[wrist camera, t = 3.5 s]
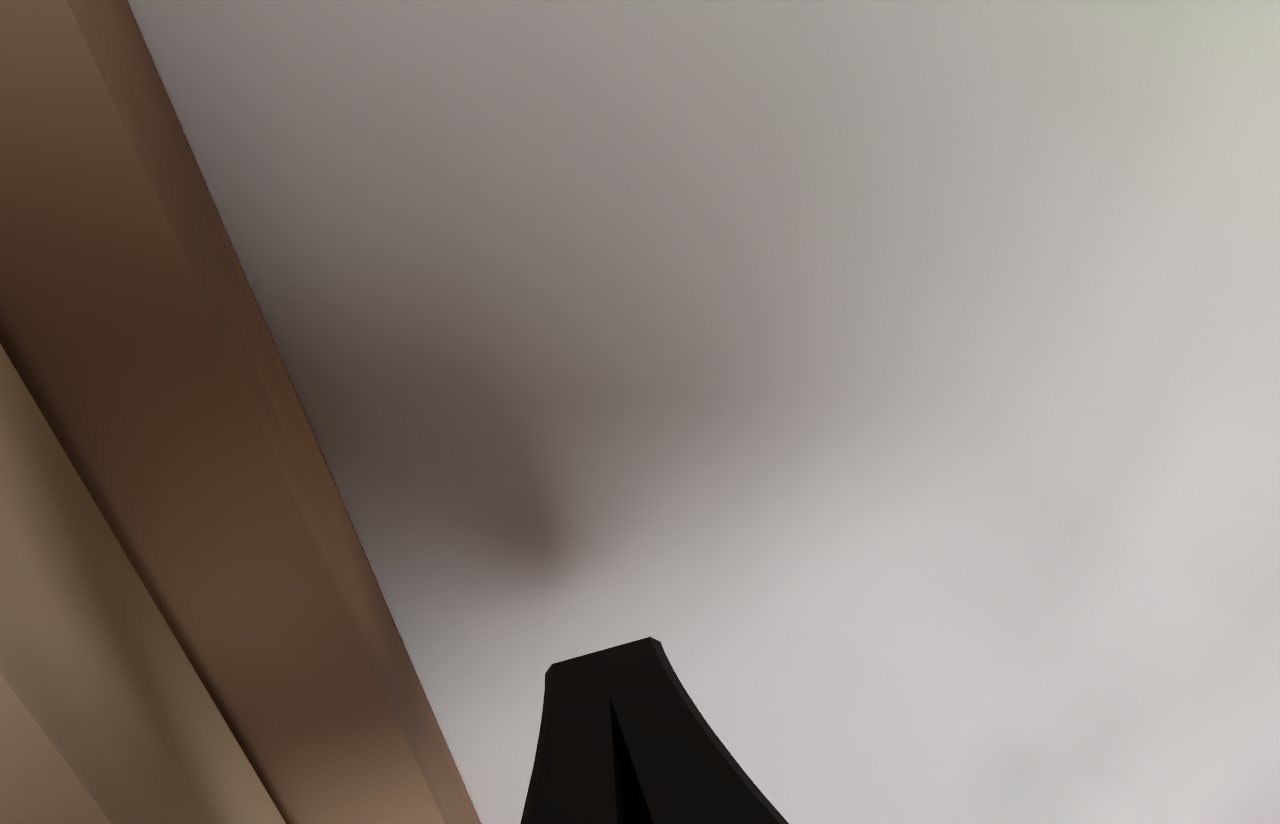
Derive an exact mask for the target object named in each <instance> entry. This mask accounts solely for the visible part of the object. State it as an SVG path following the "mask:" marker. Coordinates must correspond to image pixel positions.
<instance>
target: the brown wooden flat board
mask: <svg viewBox="0 0 1280 824" xmlns="http://www.w3.org/2000/svg"><path fill="white" fill-rule="evenodd" d="M0 344H1V346H2V347H3V349H4V351H5V352H6V354H7V356H8V357H9V359H10V361H11V362H12V364H13V366H14V367H15V369H16V371H17V372H18V374H19V376H20V378H21V379H22V381H23V383H24V384H25V386H26V388H27V389H28V391H29V393H30V394H31V396H32V398H33V399H34V401H35V403H36V404H37V406H38V408H39V409H40V411H41V413H42V414H43V416H44V418H45V420H46V421H47V423H48V425H49V426H50V428H51V430H52V431H53V433H54V435H55V436H56V438H57V440H58V441H59V443H60V445H61V446H62V448H63V450H64V451H65V453H66V455H67V457H68V458H69V460H70V462H71V463H72V465H73V467H74V468H75V470H76V472H77V473H78V475H79V477H80V478H81V480H82V482H83V483H84V485H85V487H86V488H87V490H88V492H89V493H90V495H91V497H92V499H93V500H94V502H95V504H96V505H97V507H98V509H99V510H100V512H101V514H102V515H103V517H104V519H105V520H106V522H107V524H108V525H109V527H110V529H111V530H112V532H113V534H114V536H115V537H116V539H117V541H118V542H119V544H120V546H121V547H122V549H123V551H124V552H125V554H126V556H127V557H128V559H129V561H130V562H131V564H132V566H133V567H134V569H135V571H136V572H137V574H138V576H139V578H140V579H141V581H142V583H143V584H144V586H145V588H146V589H147V591H148V593H149V594H150V596H151V598H152V599H153V601H154V603H155V604H156V606H157V608H158V609H159V611H160V613H161V614H162V616H163V618H164V620H165V621H166V623H167V625H168V626H169V628H170V630H171V631H172V633H173V635H174V636H175V638H176V640H177V641H178V643H179V645H180V646H181V648H182V650H183V651H184V653H185V655H186V657H187V658H188V660H189V662H190V663H191V665H192V667H193V668H194V670H195V672H196V673H197V675H198V677H199V678H200V680H201V682H202V683H203V685H204V687H205V688H206V690H207V692H208V693H209V695H210V697H211V699H212V700H213V702H214V704H215V705H216V707H217V709H218V710H219V712H220V714H221V715H222V717H223V719H224V720H225V722H226V724H227V725H228V727H229V729H230V730H231V732H232V734H233V736H234V737H235V739H236V741H237V742H238V744H239V746H240V747H241V749H242V751H243V752H244V754H245V756H246V757H247V759H248V761H249V762H250V764H251V766H252V767H253V769H254V771H255V772H256V774H257V776H258V778H259V779H260V781H261V783H262V784H263V786H264V788H265V789H266V791H267V793H268V794H269V796H270V798H271V799H272V801H273V803H274V804H275V806H276V808H277V809H278V811H279V813H280V815H281V816H282V818H283V820H284V821H285V823H286V824H481V823H480V821H479V819H478V816H477V814H476V812H475V809H474V807H473V805H472V802H471V800H470V798H469V795H468V793H467V791H466V789H465V786H464V784H463V782H462V779H461V777H460V775H459V772H458V770H457V768H456V765H455V763H454V761H453V758H452V756H451V754H450V751H449V749H448V747H447V744H446V742H445V740H444V737H443V735H442V733H441V730H440V728H439V726H438V723H437V721H436V719H435V716H434V714H433V712H432V709H431V707H430V705H429V702H428V700H427V698H426V695H425V693H424V691H423V688H422V686H421V684H420V681H419V679H418V677H417V674H416V672H415V670H414V668H413V665H412V663H411V661H410V658H409V656H408V654H407V651H406V649H405V647H404V644H403V642H402V640H401V637H400V635H399V633H398V630H397V628H396V626H395V623H394V621H393V619H392V616H391V614H390V612H389V609H388V607H387V605H386V602H385V600H384V598H383V595H382V593H381V591H380V588H379V586H378V584H377V581H376V579H375V577H374V574H373V572H372V570H371V567H370V565H369V563H368V560H367V558H366V556H365V554H364V551H363V549H362V547H361V544H360V542H359V540H358V537H357V535H356V533H355V530H354V528H353V526H352V523H351V521H350V519H349V516H348V514H347V512H346V509H345V507H344V505H343V502H342V500H341V498H340V495H339V493H338V491H337V488H336V486H335V484H334V481H333V479H332V477H331V474H330V472H329V470H328V467H327V465H326V463H325V460H324V458H323V456H322V453H321V451H320V449H319V446H318V444H317V442H316V439H315V437H314V435H313V433H312V430H311V428H310V426H309V423H308V421H307V419H306V416H305V414H304V412H303V409H302V407H301V405H300V402H299V400H298V398H297V395H296V393H295V391H294V388H293V386H292V384H291V381H290V379H289V377H288V374H287V372H286V370H285V367H284V365H283V363H282V360H281V358H280V356H279V353H278V351H277V349H276V346H275V344H274V342H273V339H272V337H271V335H270V332H269V330H268V328H267V325H266V323H265V321H264V319H263V316H262V314H261V312H260V309H259V307H258V305H257V302H256V300H255V298H254V295H253V293H252V291H251V288H250V286H249V284H248V281H247V279H246V277H245V274H244V272H243V270H242V267H241V265H240V263H239V260H238V258H237V256H236V253H235V251H234V249H233V246H232V244H231V242H230V239H229V237H228V235H227V232H226V230H225V228H224V225H223V223H222V221H221V218H220V216H219V214H218V211H217V209H216V207H215V204H214V202H213V200H212V198H211V195H210V193H209V191H208V188H207V186H206V184H205V181H204V179H203V177H202V174H201V172H200V170H199V167H198V165H197V163H196V160H195V158H194V156H193V153H192V151H191V149H190V146H189V144H188V142H187V139H186V137H185V135H184V132H183V130H182V128H181V125H180V123H179V121H178V118H177V116H176V114H175V111H174V109H173V107H172V104H171V102H170V100H169V97H168V95H167V93H166V90H165V88H164V86H163V83H162V81H161V79H160V77H159V74H158V72H157V70H156V67H155V65H154V63H153V60H152V58H151V56H150V53H149V51H148V49H147V46H146V44H145V42H144V39H143V37H142V35H141V32H140V30H139V28H138V25H137V23H136V21H135V18H134V16H133V14H132V11H131V9H130V7H129V4H128V2H127V0H0Z"/></svg>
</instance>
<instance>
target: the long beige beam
mask: <svg viewBox="0 0 1280 824" xmlns="http://www.w3.org/2000/svg"><path fill="white" fill-rule="evenodd" d="M0 824H286V823H285V821H284V820H283V818H282V816H281V815H280V813H279V811H278V809H277V808H276V806H275V804H274V803H273V801H272V799H271V798H270V796H269V794H268V793H267V791H266V789H265V788H264V786H263V784H262V783H261V781H260V779H259V778H258V776H257V774H256V772H255V771H254V769H253V767H252V766H251V764H250V762H249V761H248V759H247V757H246V756H245V754H244V752H243V751H242V749H241V747H240V746H239V744H238V742H237V741H236V739H235V737H234V736H233V734H232V732H231V730H230V729H229V727H228V725H227V724H226V722H225V720H224V719H223V717H222V715H221V714H220V712H219V710H218V709H217V707H216V705H215V704H214V702H213V700H212V699H211V697H210V695H209V693H208V692H207V690H206V688H205V687H204V685H203V683H202V682H201V680H200V678H199V677H198V675H197V673H196V672H195V670H194V668H193V667H192V665H191V663H190V662H189V660H188V658H187V657H186V655H185V653H184V651H183V650H182V648H181V646H180V645H179V643H178V641H177V640H176V638H175V636H174V635H173V633H172V631H171V630H170V628H169V626H168V625H167V623H166V621H165V620H164V618H163V616H162V614H161V613H160V611H159V609H158V608H157V606H156V604H155V603H154V601H153V599H152V598H151V596H150V594H149V593H148V591H147V589H146V588H145V586H144V584H143V583H142V581H141V579H140V578H139V576H138V574H137V572H136V571H135V569H134V567H133V566H132V564H131V562H130V561H129V559H128V557H127V556H126V554H125V552H124V551H123V549H122V547H121V546H120V544H119V542H118V541H117V539H116V537H115V536H114V534H113V532H112V530H111V529H110V527H109V525H108V524H107V522H106V520H105V519H104V517H103V515H102V514H101V512H100V510H99V509H98V507H97V505H96V504H95V502H94V500H93V499H92V497H91V495H90V493H89V492H88V490H87V488H86V487H85V485H84V483H83V482H82V480H81V478H80V477H79V475H78V473H77V472H76V470H75V468H74V467H73V465H72V463H71V462H70V460H69V458H68V457H67V455H66V453H65V451H64V450H63V448H62V446H61V445H60V443H59V441H58V440H57V438H56V436H55V435H54V433H53V431H52V430H51V428H50V426H49V425H48V423H47V421H46V420H45V418H44V416H43V414H42V413H41V411H40V409H39V408H38V406H37V404H36V403H35V401H34V399H33V398H32V396H31V394H30V393H29V391H28V389H27V388H26V386H25V384H24V383H23V381H22V379H21V378H20V376H19V374H18V372H17V371H16V369H15V367H14V366H13V364H12V362H11V361H10V359H9V357H8V356H7V354H6V352H5V351H4V349H3V347H2V346H1V344H0Z"/></svg>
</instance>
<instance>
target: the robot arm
mask: <svg viewBox="0 0 1280 824" xmlns="http://www.w3.org/2000/svg"><path fill="white" fill-rule="evenodd" d="M521 824H789V823H788V822H787V821H786V820H785V819H784V818H783V816H782V815H781V814H780V813H779V812H778V811H777V810H776V809H775V807H774V806H773V805H772V804H771V803H770V802H769V801H768V799H767V798H766V797H765V796H764V795H763V794H762V792H761V791H760V790H759V789H758V788H757V786H756V785H755V784H754V783H753V782H752V780H751V779H750V778H749V777H748V776H747V774H746V773H745V772H744V771H743V769H742V768H741V767H740V765H739V764H738V763H737V762H736V760H735V759H734V758H733V756H732V755H731V754H730V752H729V751H728V750H727V749H726V747H725V746H724V745H723V743H722V742H721V741H720V740H719V738H718V737H717V736H716V734H715V733H714V732H713V730H712V729H711V727H710V726H709V725H708V723H707V722H706V720H705V719H704V718H703V716H702V715H701V713H700V712H699V710H698V709H697V707H696V706H695V704H694V703H693V701H692V700H691V698H690V697H689V695H688V694H687V692H686V690H685V689H684V687H683V685H682V684H681V682H680V680H679V679H678V677H677V675H676V673H675V672H674V670H673V668H672V666H671V664H670V662H669V660H668V658H667V656H666V654H665V652H664V650H663V647H662V645H661V642H660V641H658V640H655V639H653V638H651V637H648V638H644V639H641V640H637V641H633V642H630V643H626V644H623V645H619V646H615V647H612V648H608V649H605V650H601V651H598V652H594V653H590V654H587V655H583V656H580V657H576V658H572V659H569V660H565V661H562V662H558V663H554V664H552V665H551V667H550V668H549V669H548V671H547V672H546V673H545V692H544V702H543V712H542V719H541V726H540V733H539V739H538V744H537V750H536V755H535V761H534V766H533V771H532V775H531V780H530V784H529V789H528V793H527V797H526V802H525V806H524V811H523V815H522V820H521Z"/></svg>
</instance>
